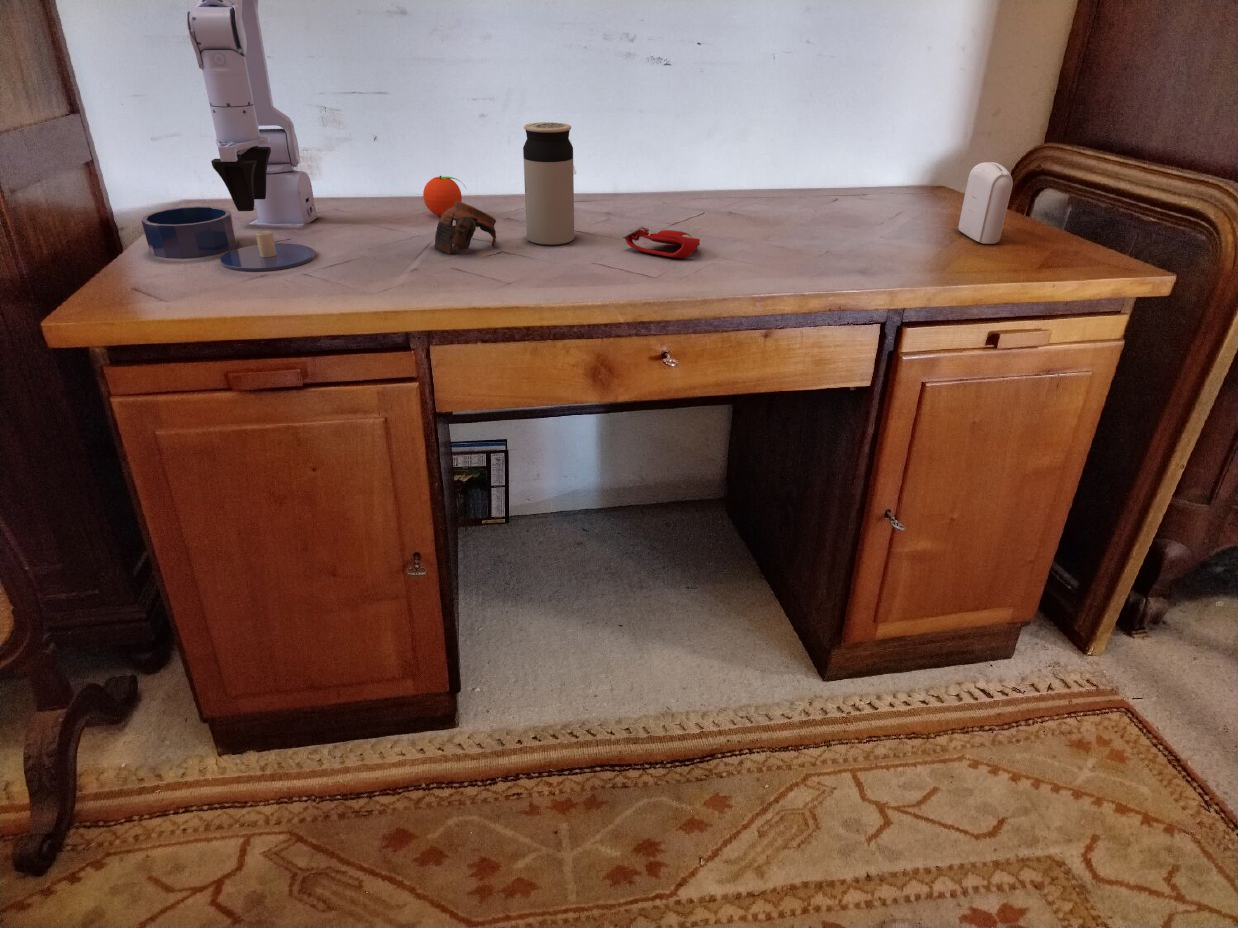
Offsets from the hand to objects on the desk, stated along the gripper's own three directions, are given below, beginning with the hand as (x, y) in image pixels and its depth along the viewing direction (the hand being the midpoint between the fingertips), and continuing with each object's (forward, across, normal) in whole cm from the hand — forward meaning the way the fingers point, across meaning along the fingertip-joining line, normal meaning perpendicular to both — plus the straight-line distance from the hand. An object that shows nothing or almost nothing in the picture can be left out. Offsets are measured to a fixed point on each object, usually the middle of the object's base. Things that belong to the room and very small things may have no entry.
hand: (252, 204), depth 122 cm
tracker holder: (+9, 0, -62) cm, 63 cm away
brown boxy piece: (+9, +4, -30) cm, 32 cm away
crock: (+8, +7, +12) cm, 16 cm away
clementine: (+9, +27, -27) cm, 39 cm away
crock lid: (+8, 0, -1) cm, 8 cm away
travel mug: (+9, +8, -44) cm, 46 cm away
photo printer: (+9, +4, -119) cm, 119 cm away
